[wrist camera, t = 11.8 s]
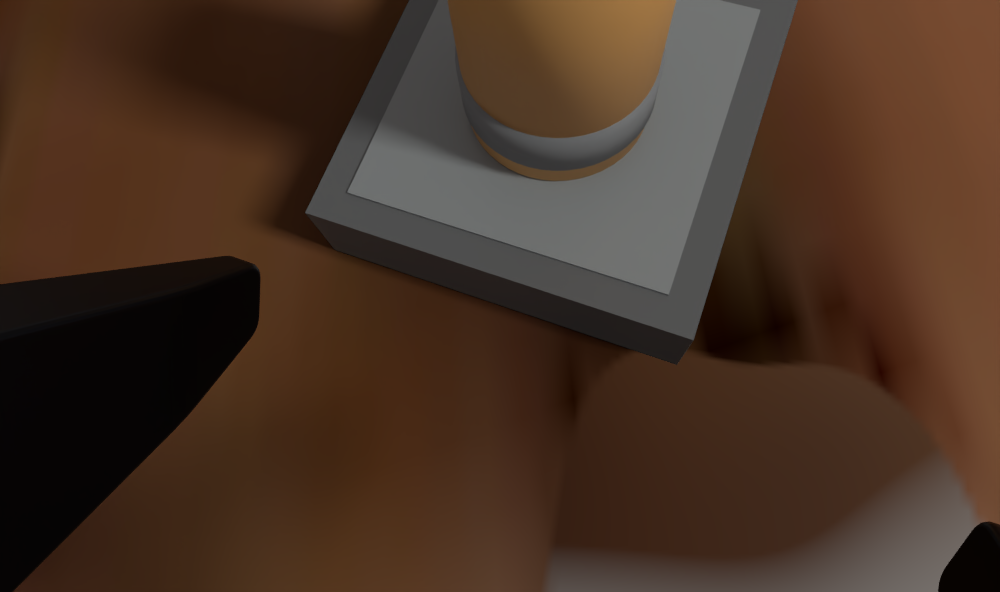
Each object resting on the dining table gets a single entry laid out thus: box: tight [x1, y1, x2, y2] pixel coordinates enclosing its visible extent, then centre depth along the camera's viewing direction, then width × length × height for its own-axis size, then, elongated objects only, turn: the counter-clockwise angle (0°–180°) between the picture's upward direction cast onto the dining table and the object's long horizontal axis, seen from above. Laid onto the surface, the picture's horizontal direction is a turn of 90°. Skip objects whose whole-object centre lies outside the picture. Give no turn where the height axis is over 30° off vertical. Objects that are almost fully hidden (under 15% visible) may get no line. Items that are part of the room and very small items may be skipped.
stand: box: [305, 0, 798, 365], centre depth 24 cm, size 12×12×3 cm
